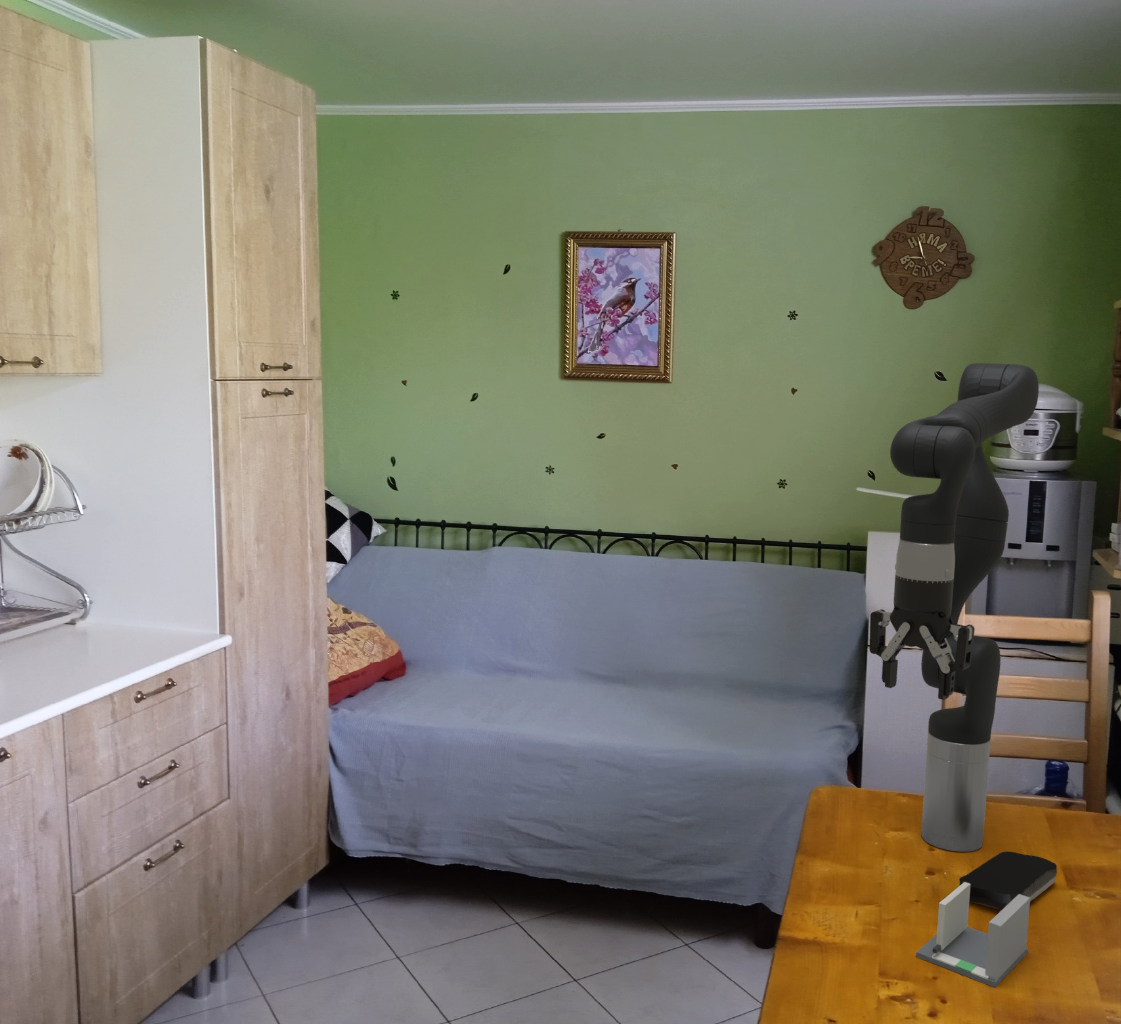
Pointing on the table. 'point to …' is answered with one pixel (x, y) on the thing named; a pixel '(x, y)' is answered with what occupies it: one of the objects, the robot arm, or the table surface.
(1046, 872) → the black sponge
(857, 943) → the table surface
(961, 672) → the robot arm
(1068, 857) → the table surface
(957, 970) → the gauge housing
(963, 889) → the panel
